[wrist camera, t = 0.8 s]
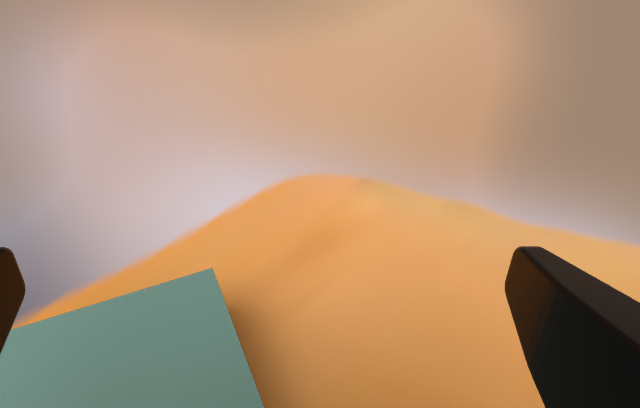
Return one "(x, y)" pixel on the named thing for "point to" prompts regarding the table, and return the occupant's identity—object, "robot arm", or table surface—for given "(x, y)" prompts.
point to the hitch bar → (133, 353)
